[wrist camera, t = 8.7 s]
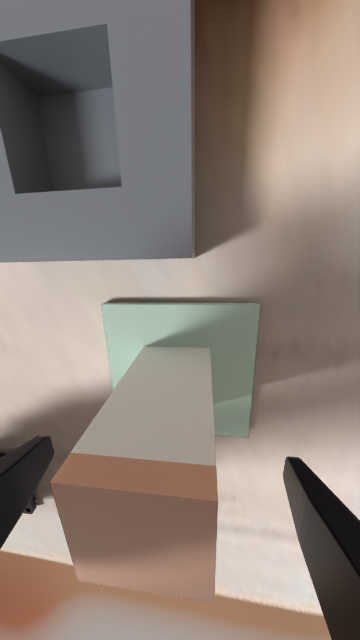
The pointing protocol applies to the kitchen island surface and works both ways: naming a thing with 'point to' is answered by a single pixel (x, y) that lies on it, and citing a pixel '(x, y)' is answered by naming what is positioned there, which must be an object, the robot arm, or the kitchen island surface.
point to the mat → (193, 331)
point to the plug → (147, 481)
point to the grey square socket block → (97, 130)
